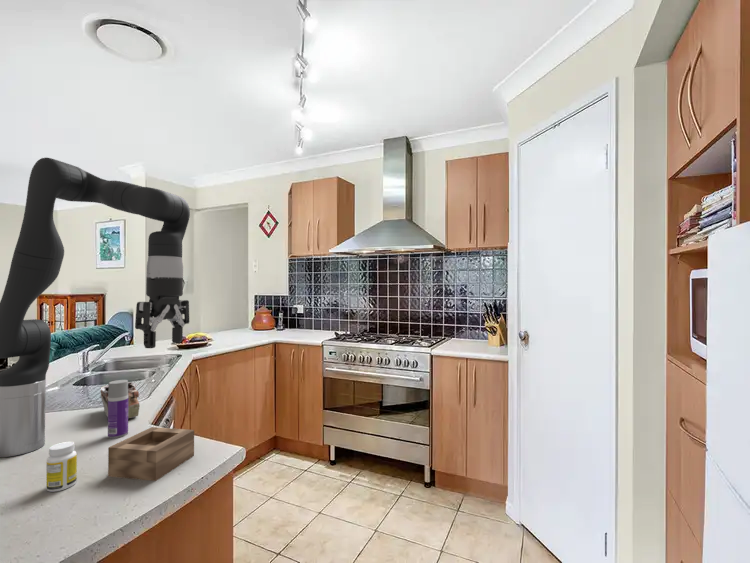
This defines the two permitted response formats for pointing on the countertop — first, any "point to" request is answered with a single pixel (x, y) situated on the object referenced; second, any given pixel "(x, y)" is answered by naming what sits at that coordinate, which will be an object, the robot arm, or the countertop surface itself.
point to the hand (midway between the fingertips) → (164, 345)
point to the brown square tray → (150, 453)
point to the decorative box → (132, 399)
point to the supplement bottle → (61, 466)
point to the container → (118, 409)
